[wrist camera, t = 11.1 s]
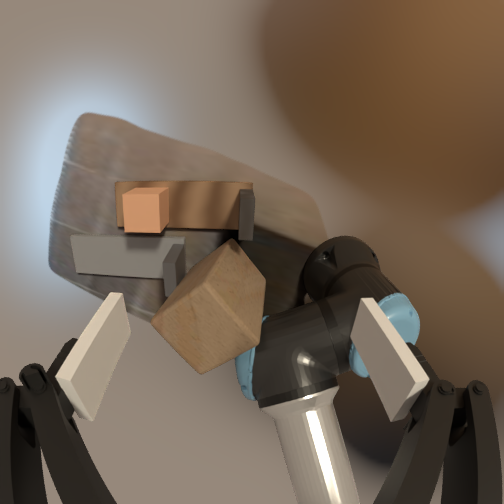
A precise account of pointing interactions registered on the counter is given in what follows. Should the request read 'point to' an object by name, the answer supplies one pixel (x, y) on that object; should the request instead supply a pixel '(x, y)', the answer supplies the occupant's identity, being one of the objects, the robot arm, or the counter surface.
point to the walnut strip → (201, 204)
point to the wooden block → (214, 309)
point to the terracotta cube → (146, 209)
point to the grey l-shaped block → (132, 257)
